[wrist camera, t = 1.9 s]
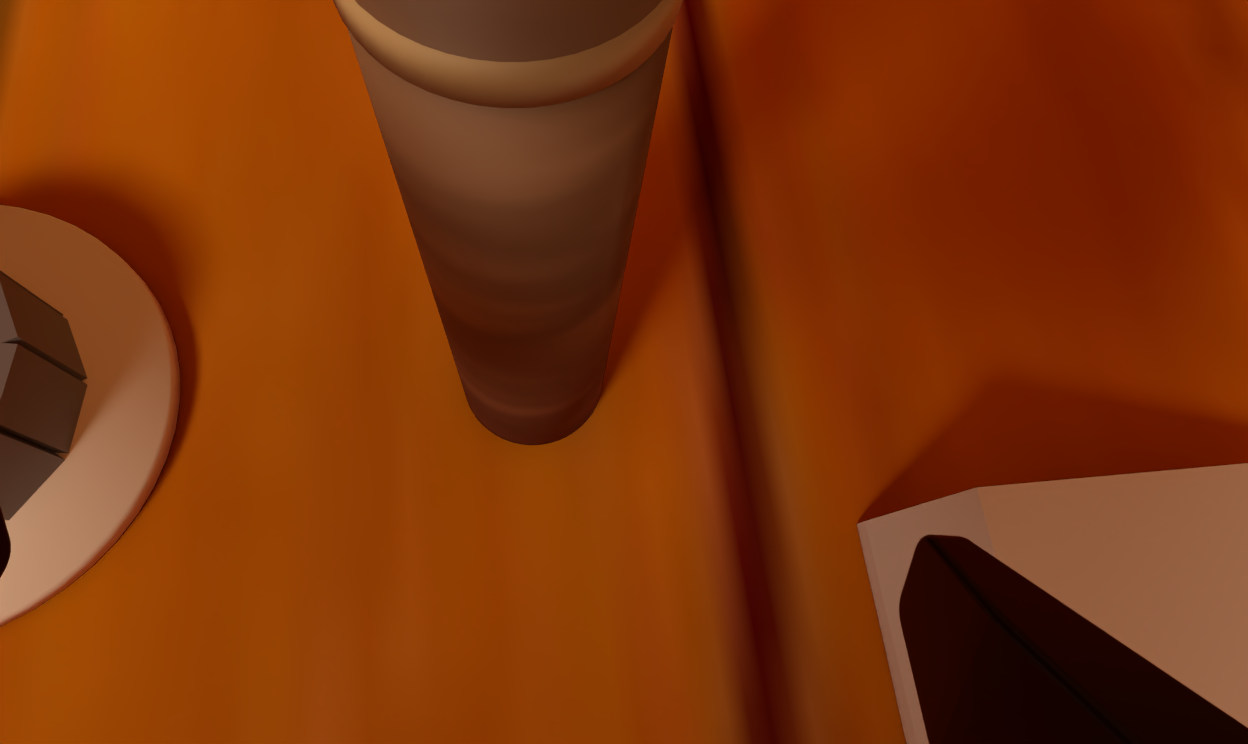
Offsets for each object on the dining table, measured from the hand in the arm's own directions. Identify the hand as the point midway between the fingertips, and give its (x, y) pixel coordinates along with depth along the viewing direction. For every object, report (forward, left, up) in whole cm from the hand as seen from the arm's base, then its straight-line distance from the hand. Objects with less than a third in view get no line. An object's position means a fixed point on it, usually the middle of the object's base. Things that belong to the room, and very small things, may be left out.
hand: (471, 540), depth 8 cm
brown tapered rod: (+3, +5, -12) cm, 14 cm away
